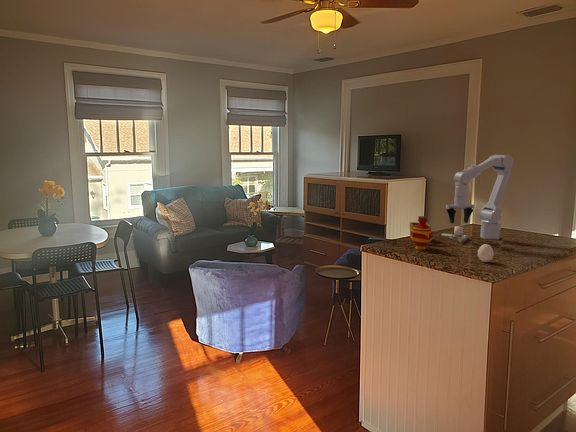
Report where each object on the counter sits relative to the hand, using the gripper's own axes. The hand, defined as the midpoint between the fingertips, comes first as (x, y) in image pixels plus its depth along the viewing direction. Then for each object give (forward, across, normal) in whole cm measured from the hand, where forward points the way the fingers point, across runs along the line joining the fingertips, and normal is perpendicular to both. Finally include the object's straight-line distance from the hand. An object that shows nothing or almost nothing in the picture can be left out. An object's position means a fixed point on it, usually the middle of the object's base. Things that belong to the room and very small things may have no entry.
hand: (458, 222), depth 226 cm
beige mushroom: (+9, -3, -4) cm, 10 cm away
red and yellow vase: (+10, +26, +12) cm, 30 cm away
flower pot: (+10, +20, -2) cm, 22 cm away
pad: (+10, 0, -11) cm, 15 cm away
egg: (+10, +11, +38) cm, 41 cm away
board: (+10, 0, -3) cm, 10 cm away
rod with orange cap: (+7, 0, +5) cm, 9 cm away
